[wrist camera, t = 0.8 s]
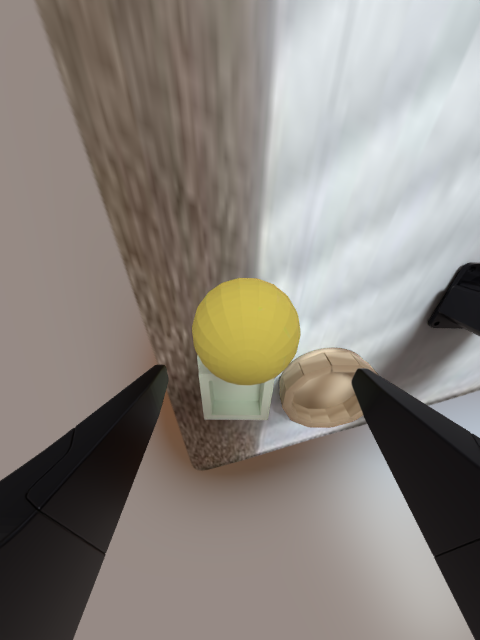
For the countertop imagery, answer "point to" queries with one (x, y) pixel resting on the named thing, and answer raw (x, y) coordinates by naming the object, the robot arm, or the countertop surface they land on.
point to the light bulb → (246, 331)
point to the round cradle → (322, 388)
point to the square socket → (233, 398)
